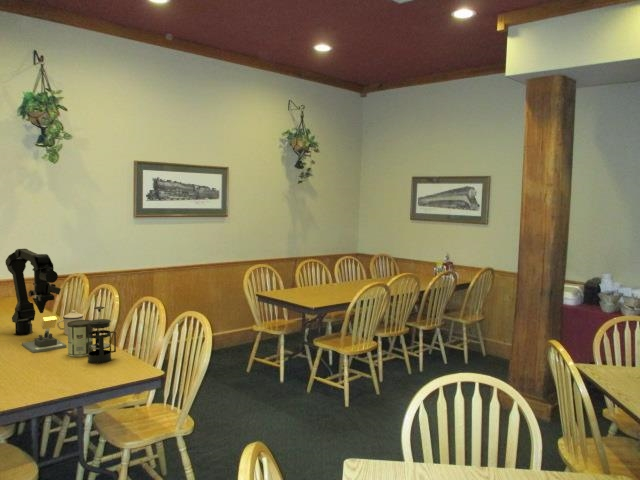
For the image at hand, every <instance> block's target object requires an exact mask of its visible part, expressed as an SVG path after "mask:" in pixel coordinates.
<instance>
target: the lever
mask: <svg viewBox="0 0 640 480" xmlns="http://www.w3.org/2000/svg"><path fill="white" fill-rule="evenodd" d="M41 323H42V324H41V329H42V330H44V334H43V337H45V338H47V337H48V336H49V333H50V329H53V328H55V327H56V325H57V317H56V315H55V316H46V317H43V318H42V322H41Z"/></svg>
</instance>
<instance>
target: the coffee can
mask: <svg viewBox="0 0 640 480" xmlns="http://www.w3.org/2000/svg"><path fill="white" fill-rule="evenodd" d="M91 320H92V319H91ZM91 320H90V319H83V320H75V321H71V322H68V323H67V325H68V335H67V355H68V356H69V357H72V358H73V357H74V358H75V357H76V358H79V357H81V358H82V357H86V356H87V357H88V333H89V332H92V331H94V330H93V329H94V328H93V327H92V326H91V325H90V324H88V321H91ZM92 335H94V334H92ZM93 340H94V338H89V346H90V345H92V344H94V343H93V342H94V341H93ZM92 351H94V350H93V349H90V348H89V352H92Z"/></svg>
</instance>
